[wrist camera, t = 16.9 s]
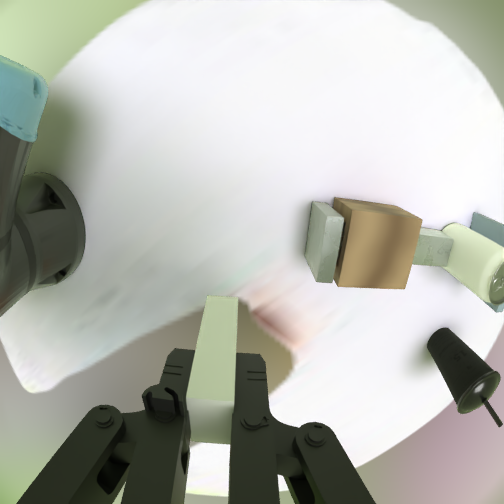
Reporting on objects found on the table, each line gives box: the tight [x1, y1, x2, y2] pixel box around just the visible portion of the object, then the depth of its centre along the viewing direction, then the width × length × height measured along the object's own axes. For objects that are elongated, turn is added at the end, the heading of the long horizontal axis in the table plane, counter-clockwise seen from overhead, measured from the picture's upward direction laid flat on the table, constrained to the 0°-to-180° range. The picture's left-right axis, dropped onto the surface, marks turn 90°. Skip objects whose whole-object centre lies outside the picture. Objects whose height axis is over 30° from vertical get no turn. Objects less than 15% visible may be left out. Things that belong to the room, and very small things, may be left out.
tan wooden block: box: [333, 197, 422, 289], centre depth 30 cm, size 8×8×6 cm
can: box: [441, 223, 504, 305], centre depth 28 cm, size 6×6×12 cm
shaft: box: [305, 202, 454, 283], centre depth 30 cm, size 18×6×7 cm, turn 85°
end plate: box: [470, 213, 504, 312], centre depth 29 cm, size 2×10×10 cm, turn 175°
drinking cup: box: [427, 328, 503, 427], centre depth 30 cm, size 8×8×20 cm
